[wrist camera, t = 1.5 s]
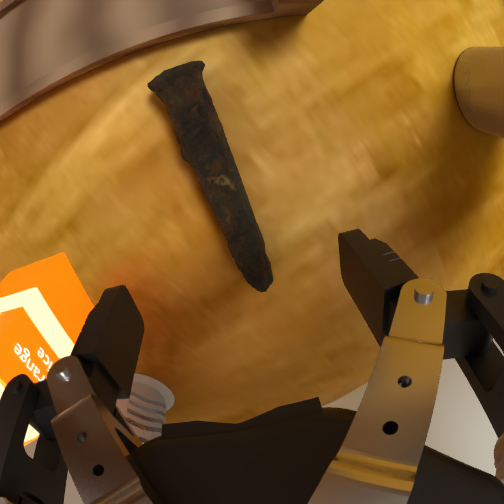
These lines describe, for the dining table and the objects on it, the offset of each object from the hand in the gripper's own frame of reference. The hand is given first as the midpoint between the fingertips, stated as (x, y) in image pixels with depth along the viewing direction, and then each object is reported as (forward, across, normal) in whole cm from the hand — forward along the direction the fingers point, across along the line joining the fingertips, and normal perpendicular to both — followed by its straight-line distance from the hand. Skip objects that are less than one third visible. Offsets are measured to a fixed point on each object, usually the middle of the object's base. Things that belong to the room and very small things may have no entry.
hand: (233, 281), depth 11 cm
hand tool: (+15, 0, 0) cm, 15 cm away
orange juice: (+15, +21, +6) cm, 26 cm away
